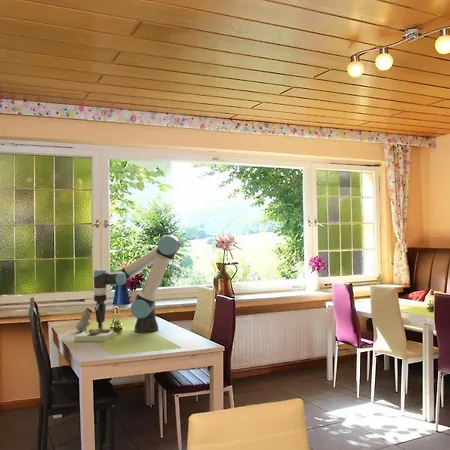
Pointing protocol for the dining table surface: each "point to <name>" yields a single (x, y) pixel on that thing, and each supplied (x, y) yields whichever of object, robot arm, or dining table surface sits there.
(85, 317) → the figurine
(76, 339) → the slot frame
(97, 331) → the t block
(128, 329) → the dining table surface
